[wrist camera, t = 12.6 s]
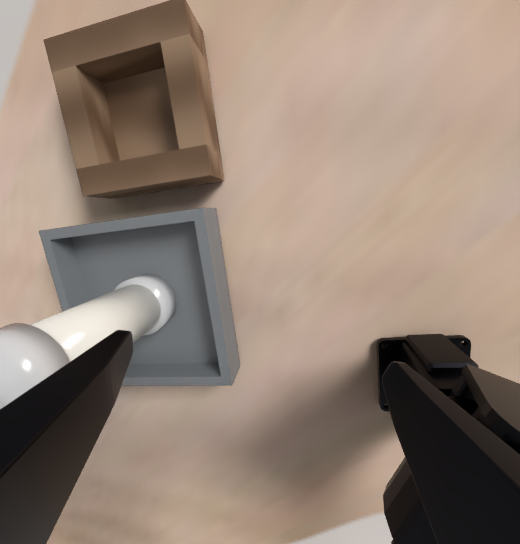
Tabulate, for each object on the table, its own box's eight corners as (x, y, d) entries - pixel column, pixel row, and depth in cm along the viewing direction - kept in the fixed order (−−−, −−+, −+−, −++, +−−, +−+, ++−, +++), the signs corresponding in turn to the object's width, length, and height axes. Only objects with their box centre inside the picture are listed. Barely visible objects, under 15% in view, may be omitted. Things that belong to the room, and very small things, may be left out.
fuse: (186, 311, 22) (58, 419, 11) (146, 334, 23) (-10, 453, 12) (156, 264, 22) (-15, 322, 10) (116, 289, 23) (-78, 368, 11)
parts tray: (240, 365, 23) (232, 385, 21) (107, 367, 26) (84, 385, 23) (216, 208, 20) (202, 207, 18) (69, 228, 23) (38, 230, 20)
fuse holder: (224, 180, 20) (210, 175, 17) (112, 198, 22) (83, 196, 19) (202, 31, 18) (183, -4, 15) (81, 65, 20) (43, 39, 17)
